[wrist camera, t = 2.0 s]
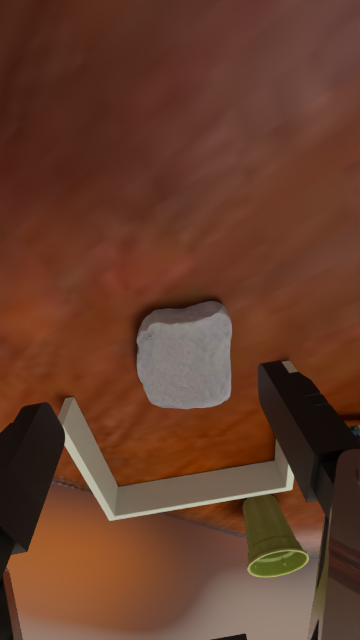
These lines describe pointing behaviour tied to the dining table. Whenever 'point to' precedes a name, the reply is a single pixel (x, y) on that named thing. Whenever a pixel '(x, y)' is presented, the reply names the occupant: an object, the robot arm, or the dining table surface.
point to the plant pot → (270, 539)
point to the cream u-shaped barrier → (169, 490)
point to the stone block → (186, 356)
